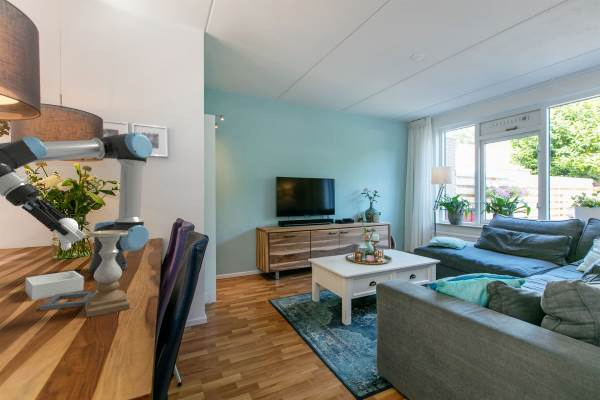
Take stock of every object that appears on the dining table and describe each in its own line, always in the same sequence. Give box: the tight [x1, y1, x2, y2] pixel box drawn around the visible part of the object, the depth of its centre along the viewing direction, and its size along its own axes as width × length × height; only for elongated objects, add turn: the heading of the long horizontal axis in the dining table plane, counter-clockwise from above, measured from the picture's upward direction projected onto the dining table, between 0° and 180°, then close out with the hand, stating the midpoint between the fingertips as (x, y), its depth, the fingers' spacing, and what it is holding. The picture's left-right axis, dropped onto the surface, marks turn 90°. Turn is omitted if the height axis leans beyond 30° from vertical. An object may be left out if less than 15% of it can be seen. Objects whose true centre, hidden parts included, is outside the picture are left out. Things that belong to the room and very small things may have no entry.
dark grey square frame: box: [39, 290, 98, 311], centre depth 89 cm, size 12×12×1 cm
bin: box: [25, 270, 85, 302], centre depth 99 cm, size 14×14×5 cm
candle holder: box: [84, 230, 131, 318], centre depth 85 cm, size 11×11×24 cm
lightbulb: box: [54, 217, 79, 251], centre depth 92 cm, size 6×6×11 cm
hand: (79, 239), depth 93 cm, fingers closed on lightbulb, 6 cm apart
